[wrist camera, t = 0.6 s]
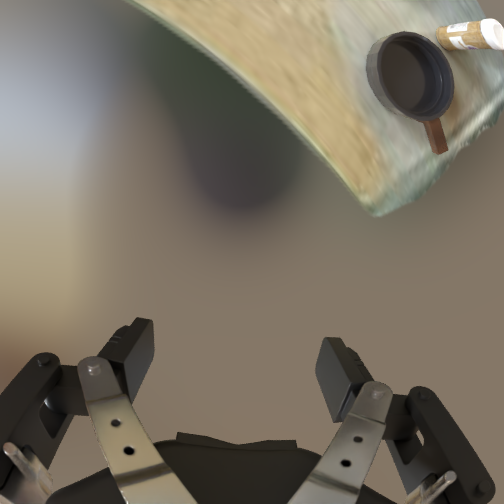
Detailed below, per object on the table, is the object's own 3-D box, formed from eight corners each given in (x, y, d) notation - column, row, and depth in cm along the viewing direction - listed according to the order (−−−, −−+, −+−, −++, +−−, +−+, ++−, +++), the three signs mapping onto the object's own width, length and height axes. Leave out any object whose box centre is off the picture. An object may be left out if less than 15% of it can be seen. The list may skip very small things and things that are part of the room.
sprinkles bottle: (441, 51, 25) (497, 50, 13) (430, 26, 23) (484, 17, 11) (458, 49, 24) (513, 50, 12) (449, 25, 21) (502, 19, 10)
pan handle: (413, 114, 32) (427, 117, 28) (424, 109, 31) (437, 112, 28) (425, 148, 34) (438, 155, 31) (435, 144, 34) (448, 150, 30)
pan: (348, 49, 27) (359, 44, 24) (415, 29, 24) (430, 25, 20) (387, 128, 33) (401, 133, 30) (447, 103, 30) (464, 107, 26)
